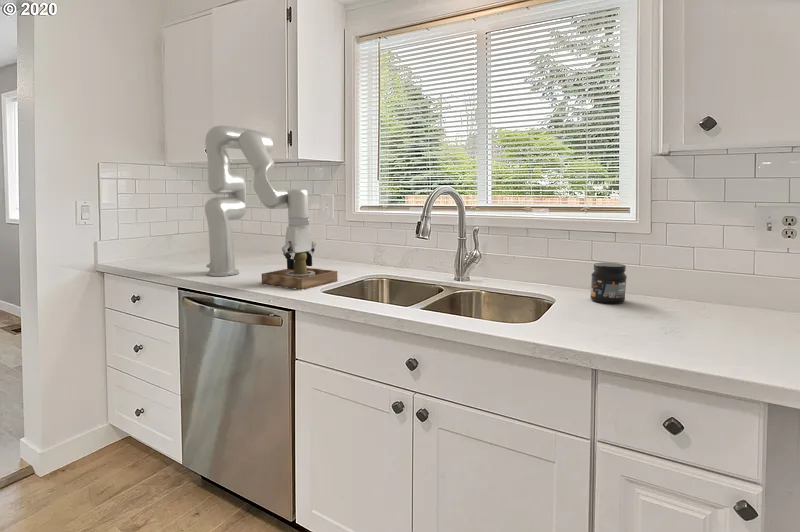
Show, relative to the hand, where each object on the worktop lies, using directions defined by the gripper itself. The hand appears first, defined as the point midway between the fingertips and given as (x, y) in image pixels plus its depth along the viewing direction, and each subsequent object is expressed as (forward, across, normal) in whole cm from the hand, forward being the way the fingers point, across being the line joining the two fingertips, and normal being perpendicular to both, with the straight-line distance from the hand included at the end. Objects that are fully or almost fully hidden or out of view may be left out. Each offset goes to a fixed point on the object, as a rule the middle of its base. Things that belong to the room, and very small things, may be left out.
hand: (299, 267), depth 197 cm
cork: (+5, 0, 0) cm, 5 cm away
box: (+6, 0, 0) cm, 6 cm away
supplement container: (+6, -30, +105) cm, 109 cm away
